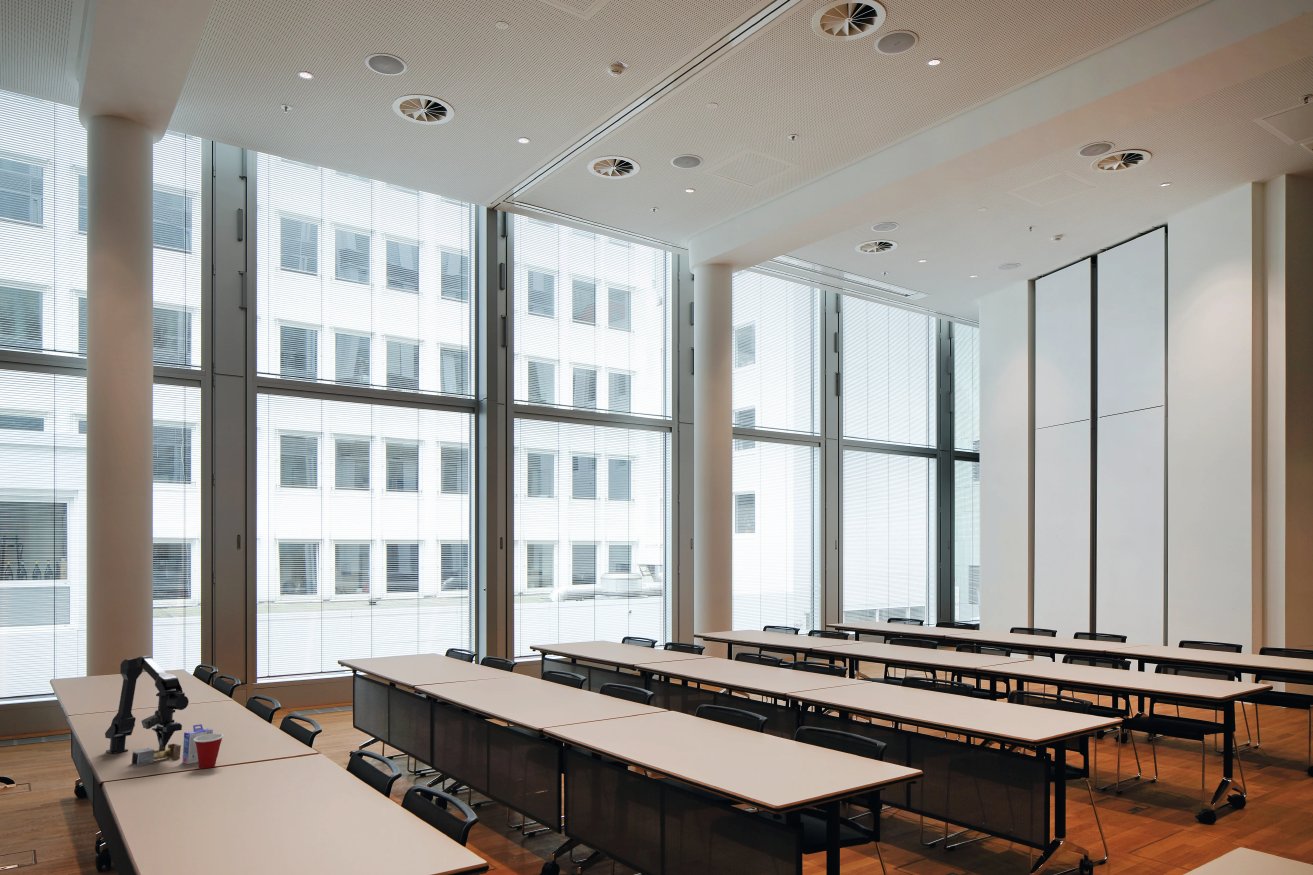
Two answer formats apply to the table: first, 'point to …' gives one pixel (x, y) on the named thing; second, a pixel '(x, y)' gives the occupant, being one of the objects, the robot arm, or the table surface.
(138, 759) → the grey hammer head
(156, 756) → the gold elongated piece
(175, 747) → the socket block
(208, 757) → the plastic cup
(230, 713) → the table surface
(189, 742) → the ink cartridge box
